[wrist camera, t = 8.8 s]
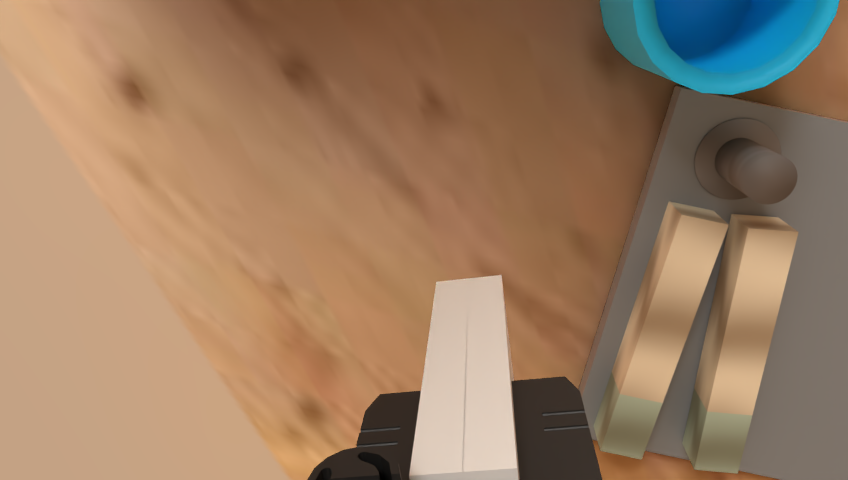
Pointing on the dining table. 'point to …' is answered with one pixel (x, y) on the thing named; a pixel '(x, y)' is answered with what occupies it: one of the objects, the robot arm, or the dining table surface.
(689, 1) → the mug
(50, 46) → the dining table surface
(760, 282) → the bar
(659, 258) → the tongs base
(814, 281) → the board
